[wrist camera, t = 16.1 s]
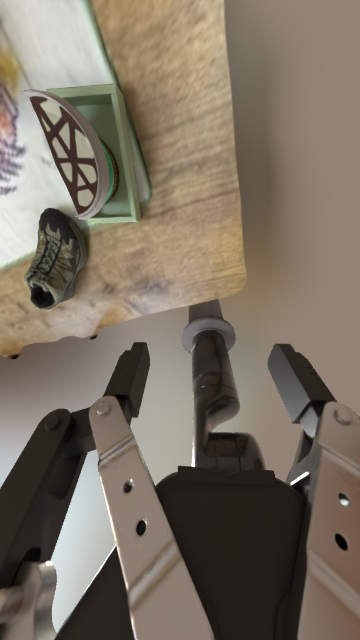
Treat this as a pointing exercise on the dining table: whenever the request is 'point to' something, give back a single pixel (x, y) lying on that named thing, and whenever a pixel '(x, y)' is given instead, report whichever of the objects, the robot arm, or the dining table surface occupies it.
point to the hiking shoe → (55, 259)
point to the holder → (109, 144)
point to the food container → (77, 153)
